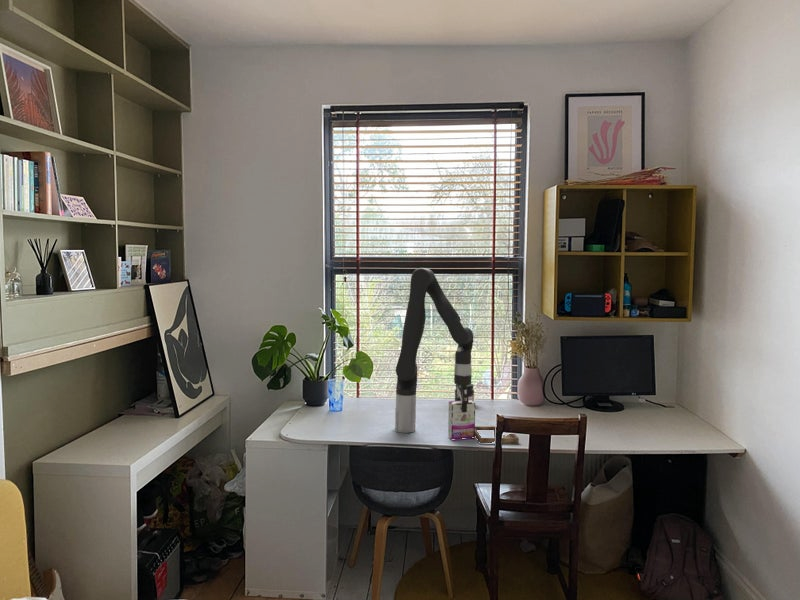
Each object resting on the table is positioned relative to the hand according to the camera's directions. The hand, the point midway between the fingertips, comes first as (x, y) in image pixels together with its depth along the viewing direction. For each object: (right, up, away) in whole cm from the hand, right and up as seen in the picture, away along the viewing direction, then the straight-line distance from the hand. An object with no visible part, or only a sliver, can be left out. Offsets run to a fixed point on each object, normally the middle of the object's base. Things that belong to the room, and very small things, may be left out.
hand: (462, 409), depth 242 cm
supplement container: (+7, -9, +53) cm, 55 cm away
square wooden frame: (+15, -13, +2) cm, 20 cm away
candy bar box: (0, -13, +1) cm, 13 cm away
